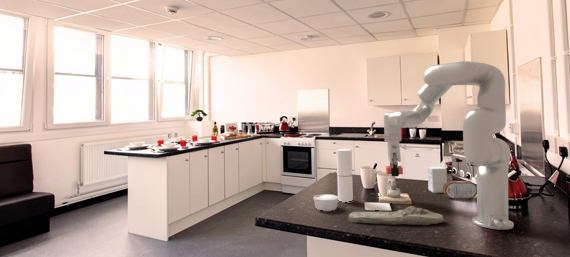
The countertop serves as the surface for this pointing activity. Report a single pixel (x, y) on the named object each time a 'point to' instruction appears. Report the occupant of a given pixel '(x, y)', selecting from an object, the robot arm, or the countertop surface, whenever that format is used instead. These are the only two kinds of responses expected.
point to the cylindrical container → (344, 175)
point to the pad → (378, 206)
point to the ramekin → (326, 202)
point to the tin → (460, 189)
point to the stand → (395, 196)
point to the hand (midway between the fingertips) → (394, 174)
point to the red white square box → (388, 168)
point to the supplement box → (437, 179)
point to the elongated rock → (398, 217)
